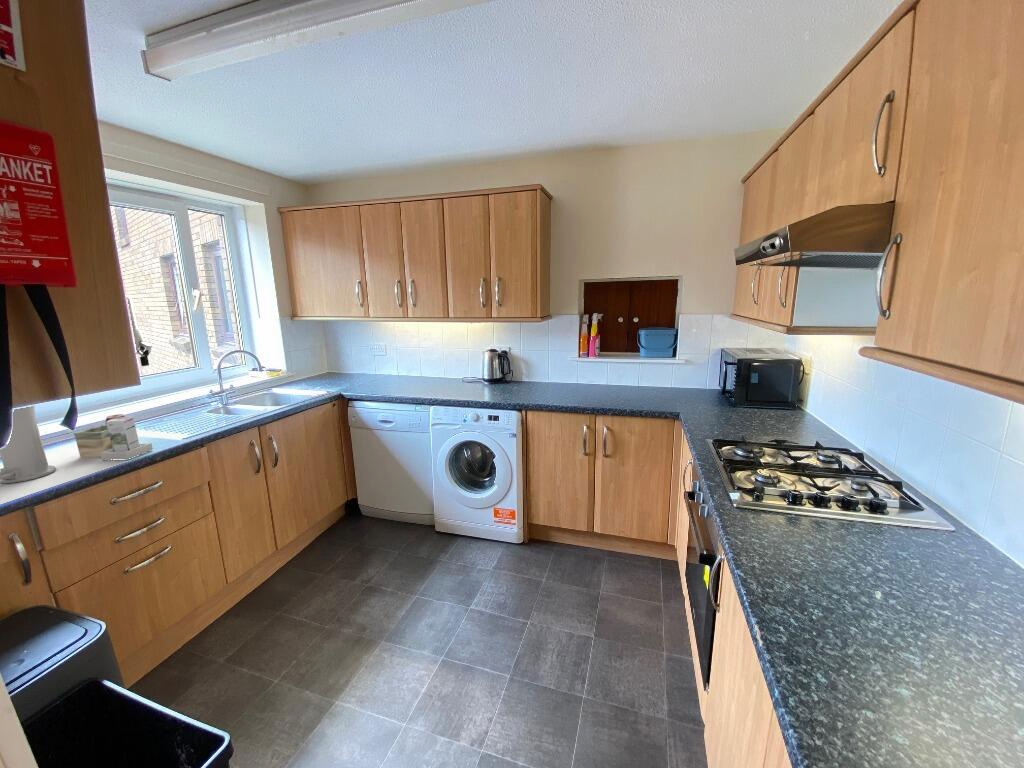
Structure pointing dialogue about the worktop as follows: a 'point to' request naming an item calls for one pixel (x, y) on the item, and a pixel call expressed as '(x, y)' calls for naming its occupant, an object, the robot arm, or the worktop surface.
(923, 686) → the worktop surface
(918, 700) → the worktop surface
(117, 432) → the syrup box
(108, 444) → the raised stand
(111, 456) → the grey collar
